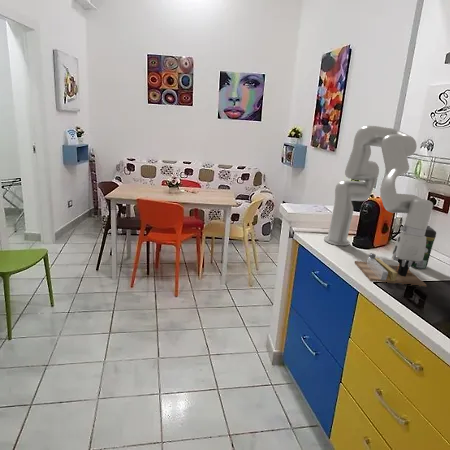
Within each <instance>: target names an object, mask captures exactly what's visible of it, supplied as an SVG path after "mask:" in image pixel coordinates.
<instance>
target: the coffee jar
mask: <svg viewBox="0 0 450 450" xmlns="http://www.w3.org/2000/svg"><path fill="white" fill-rule="evenodd" d="M424 236H425V237H426V248H425V253H424V257H423V260H422V261H420V263H414V264H413V265H411V268H412V267H413V268H415V269H417V270H418V269H419V270H423V269H424V270H426V269H427V268H428V264H429V260H430V256H431V252H432V249H433V245H434V242H435V239H436V236H437V231H436V230H435V229H434V228H432V227H430V226H429V225H427V228H426V232H425V235H424Z"/></svg>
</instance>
